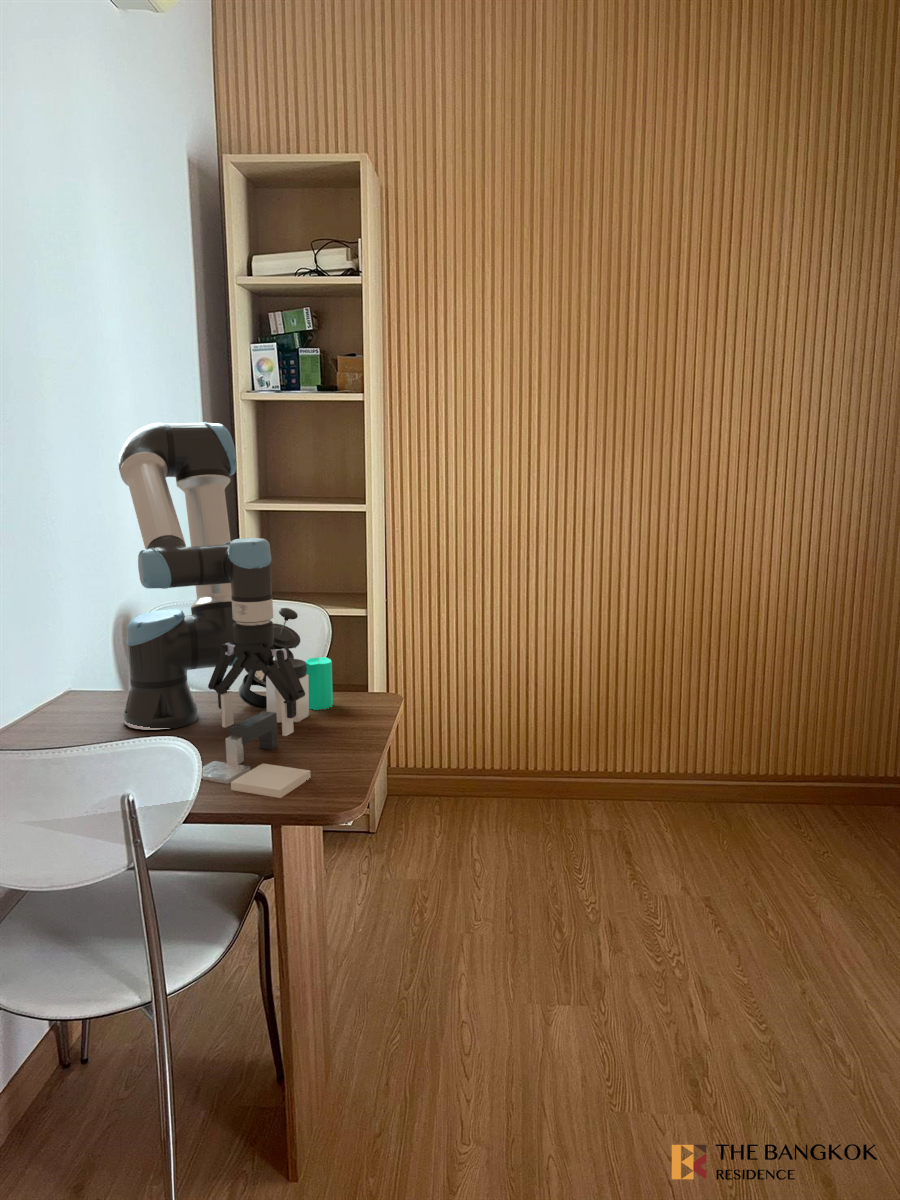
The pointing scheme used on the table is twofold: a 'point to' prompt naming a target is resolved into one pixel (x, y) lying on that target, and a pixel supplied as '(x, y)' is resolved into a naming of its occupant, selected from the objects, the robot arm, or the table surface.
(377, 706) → the table surface
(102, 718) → the table surface
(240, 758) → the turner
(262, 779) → the tile
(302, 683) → the jar
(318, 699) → the candle
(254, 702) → the french press
